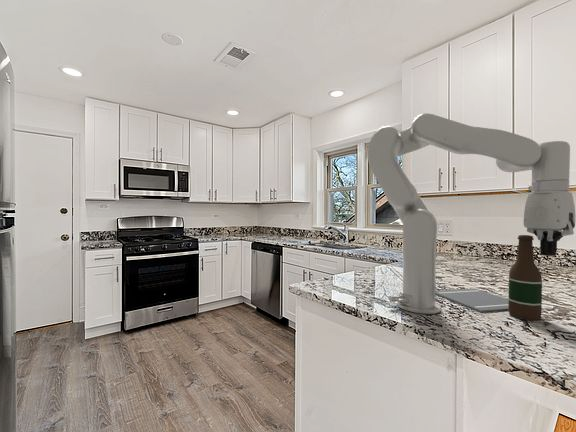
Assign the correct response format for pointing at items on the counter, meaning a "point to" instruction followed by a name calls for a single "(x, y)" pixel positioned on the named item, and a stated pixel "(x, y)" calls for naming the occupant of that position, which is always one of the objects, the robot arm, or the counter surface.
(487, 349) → the counter surface
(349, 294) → the counter surface
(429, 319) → the counter surface
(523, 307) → the beer bottle
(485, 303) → the mat
